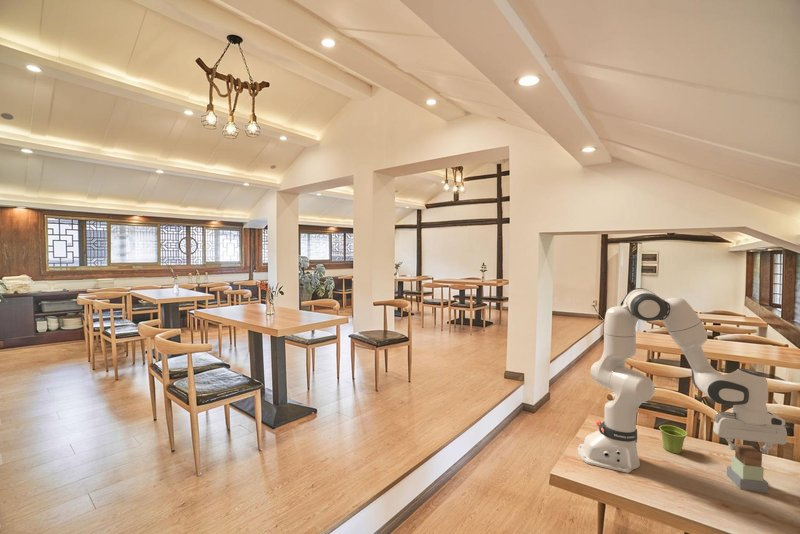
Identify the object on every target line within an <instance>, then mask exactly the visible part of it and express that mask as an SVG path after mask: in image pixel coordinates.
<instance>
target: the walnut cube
mask: <svg viewBox="0 0 800 534" xmlns="http://www.w3.org/2000/svg"><path fill="white" fill-rule="evenodd" d="M734 445H735V446H736V450H734V453H735V455H734V456H735V458H737V459H738V460H739V461H740V462H741V463H743V464H744V465H747V466H757V467H763V466H762V465H763V464H762V463H763V454H762V453H761V452H760V450H758V449H757V448H755V447H754V446H753V445H747V444H738V443H737V444H734Z"/></svg>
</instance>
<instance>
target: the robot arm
mask: <svg viewBox="0 0 800 534" xmlns="http://www.w3.org/2000/svg"><path fill="white" fill-rule="evenodd" d="M639 320H641V321H643V322H654V321H661V322H662V324H663V325H664V328H665V329H666V330H667V333H668V335H669V336H670V337H671V338H672V340H673V341H674V343H675V344H676V345H677V346H678V347H679V348H680V350H681V351H682V354H683V356H684V357H685V359H686V361H687V363H688V365H689V368H690V370H691V381H692V383H693V386H694V387H695V388H696V389H697V390H698V391H700V392H702V393H703V394H704V395H706V397H708V398H709V399H711V400H712V401H713V402H715V403H717V404H721V405H723V406H732V412H731V411H729V412H728V411H721V410H720V411H719V412H716V413H715V414H714V423H713V427H712V428H713V429H712V430H713V432H714V434H715V435H716V436H718V437H719V438H723V439H725V440H726V442H727V444H728V449H729V450H730V451H735V450H736V446H735V445H736V444H734V443H732V442H734V440H740V441H747V442H748V441H749V442H758V443H764V445H763V446H760V447H759V452H761V453H762V455H769V451H770V450H771V449H772V448H773V447H774V444H775V445H784V446H785V444H787V442H788V433H787V432H788V431H787V428H786V427H785V425H786V420H785V419H783V418H782V417H781V416H779V415H776V414H775V413H773V412H770V411H768V407H767V403H768V402H767V401H768V399H769V386H768V385H769V384H768V379H767V378H766V377H765V375H763V374H761V373H760V372H757V371H755V370H751V369H748V368H737V369H736V370H735V371H732V372H729V373H726V374H722V373H721V372H720V371H718V370H717V369H715V367H713V366H712V365H711V363H710V361H709V360H708V358H707V356H706V354H705V351H704V350H703V347H702V346H703V344H705V343H706V341H707V340H708V334H707V331H706V328H705V325H704V324H703V322H702V320H701V318H700V317H699V316H698V314H697V312H696V311H695V310H694V309H693V307H692V306H691V305H690V303H688V301H687V300H685V299H684V298H682V297H677V296H676V297H673V296H672V297H668V298H666V299H665V298H664V299H663V298H661V297H660V296H659V295H657V294H656V293H654V292H653V291H651V290H649V289H647V288H643V287H639V288H638V287H637V288H634V289H631V290H629V291H628V292H627V294H626V295H625V296H624V298H623V299H622V301H621V302H620V305H617V306H611V307H609V308H608V309H607V310H606V312H605V315H604V320H603V321H604V322H603V323H604V324H603V349H602V350H603V351H602V353H601V357H600V359H598V360H597V361H595V362H594V363H593V364H592V365H591V367H590V373H589V374H590V377H591V379H592V380H593V381H594V382H596V383H597V384H598V385H600V386H601V387H602V388H605V389H608V390H610V391H611V392H614V393H615V394H614V395H615V397H614V399H611V400H608V401H607V402H606V403H605V405H604V417H603V418H604V421H603V422H601V420H599V419H597V420H595V424H596V426H597V427H598V430H595V431H593V432H591V433H589V434H587V435H586V436H585V438H584V440H583V443H579V445H578V446H577V453H578V456H579V457H580V458H581V460H582V461H583V462H585V463H586V464H587V465H592V466H597V467H601V468H605V469H609V470H613V471H619V472H624V473H627V474H629V473H631V472H632V471H633V470H636V469H639V468H640V466H641V461H640V459H639V453H638V448H637V442H638V429H637V415H638V414H637V413H638V409H639V407H640V406H641V404H643V403H646V402H647V401H650V400H651V399H652V398H653V396H654V394H655V392H656V391H655V389H656V388H655V387H656V386H655V384H654V382H653V380H652V378H649V377H648V376H646V375H644V374H643V373H641V372H639V371H637V370H633V369H630V368H628V367H626V364H625V363H626V360H628V359H631V358H632V357H634V356H635V355H636V352H637V340H636V339H637V337H636V335H637V332H636V326H637V322H638V321H639Z"/></svg>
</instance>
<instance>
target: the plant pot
mask: <svg viewBox="0 0 800 534" xmlns="http://www.w3.org/2000/svg"><path fill="white" fill-rule="evenodd" d="M659 430H660V433H661V438H662V446H663V448H664V450H665V451H667V452H669V453H671V454H672V453H673V454H680V453H682V451H683V447H684V446H683V445H684V442H685V439H686V437H687V436H688V433H687V431H686V430H684V429H682V428H680V427H678V426H676V425H670V424H662V425H660V426H659Z"/></svg>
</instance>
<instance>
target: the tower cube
mask: <svg viewBox="0 0 800 534" xmlns="http://www.w3.org/2000/svg"><path fill="white" fill-rule="evenodd" d="M731 467H732V470H733V471H734V472H736V473H737V474H738V475H739V476H740V477H741V478H742V479H747V480H756V481H763V479H764V467H763V466H762V467H757V466H747V465H744V464H743V463H741V462H740V461H739V460H738V459H737V458H735V455H732V456H731Z"/></svg>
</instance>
